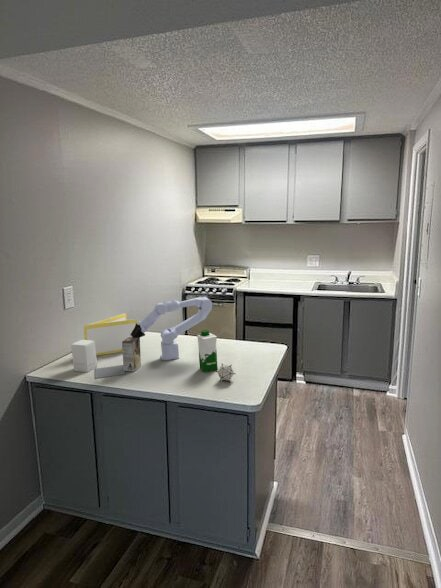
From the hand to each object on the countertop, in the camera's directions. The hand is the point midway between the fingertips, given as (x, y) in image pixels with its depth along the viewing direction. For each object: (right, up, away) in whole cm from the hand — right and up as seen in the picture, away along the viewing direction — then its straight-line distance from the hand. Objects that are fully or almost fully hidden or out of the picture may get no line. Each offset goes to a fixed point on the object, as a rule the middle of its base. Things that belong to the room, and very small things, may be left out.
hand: (131, 337), depth 230 cm
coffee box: (+2, -16, -8) cm, 18 cm away
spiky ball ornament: (+52, -18, -29) cm, 62 cm away
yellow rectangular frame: (-14, -10, +25) cm, 30 cm away
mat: (-9, -17, -11) cm, 22 cm away
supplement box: (-24, -16, -5) cm, 29 cm away
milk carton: (+43, -15, -13) cm, 47 cm away
